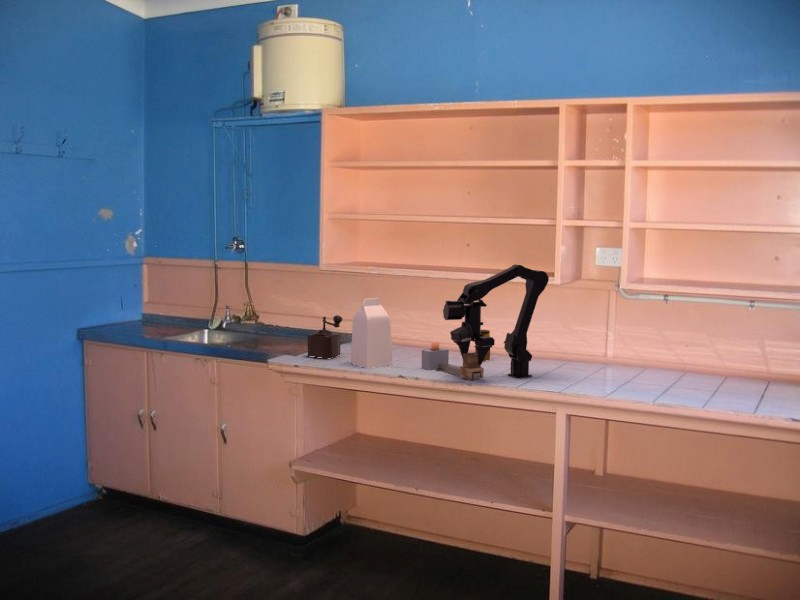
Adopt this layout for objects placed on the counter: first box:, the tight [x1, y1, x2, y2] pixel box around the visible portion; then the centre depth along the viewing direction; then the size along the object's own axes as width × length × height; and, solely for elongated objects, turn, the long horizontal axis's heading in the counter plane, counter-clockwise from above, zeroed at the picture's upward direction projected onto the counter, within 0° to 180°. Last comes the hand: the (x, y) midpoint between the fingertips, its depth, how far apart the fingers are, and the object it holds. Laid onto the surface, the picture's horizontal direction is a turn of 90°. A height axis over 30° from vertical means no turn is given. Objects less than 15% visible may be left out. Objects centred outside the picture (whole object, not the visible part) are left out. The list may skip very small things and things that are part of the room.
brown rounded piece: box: [430, 342, 440, 351], centre depth 306 cm, size 3×3×3 cm
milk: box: [350, 297, 394, 369], centre depth 311 cm, size 12×12×26 cm
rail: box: [435, 363, 481, 381], centre depth 294 cm, size 22×6×2 cm, turn 31°
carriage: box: [459, 351, 485, 381], centre depth 287 cm, size 6×6×8 cm
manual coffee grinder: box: [307, 314, 343, 359], centre depth 328 cm, size 16×11×18 cm
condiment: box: [474, 329, 494, 362], centre depth 325 cm, size 7×8×12 cm
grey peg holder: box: [421, 347, 450, 371], centre depth 307 cm, size 5×9×7 cm, turn 121°
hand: (472, 362), depth 287 cm, fingers open, 9 cm apart
